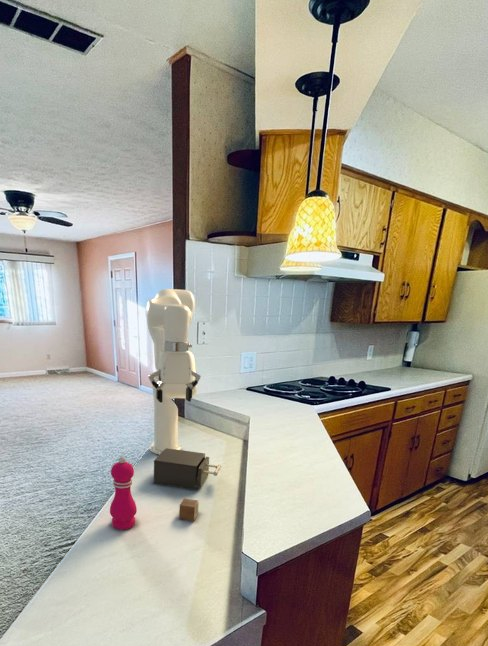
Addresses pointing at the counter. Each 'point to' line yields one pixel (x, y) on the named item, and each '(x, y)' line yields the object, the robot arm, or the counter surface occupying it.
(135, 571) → the counter surface
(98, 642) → the counter surface
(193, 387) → the robot arm
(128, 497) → the pepper mill
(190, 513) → the block
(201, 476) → the drawer
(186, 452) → the drawer cabinet
